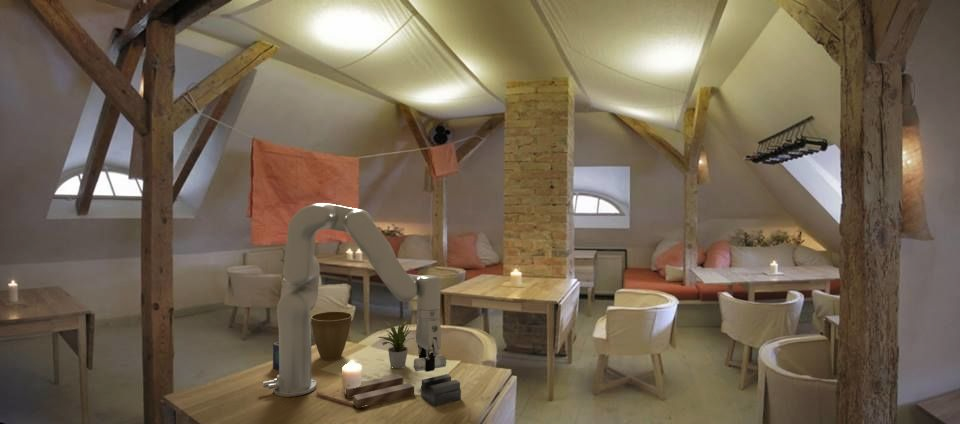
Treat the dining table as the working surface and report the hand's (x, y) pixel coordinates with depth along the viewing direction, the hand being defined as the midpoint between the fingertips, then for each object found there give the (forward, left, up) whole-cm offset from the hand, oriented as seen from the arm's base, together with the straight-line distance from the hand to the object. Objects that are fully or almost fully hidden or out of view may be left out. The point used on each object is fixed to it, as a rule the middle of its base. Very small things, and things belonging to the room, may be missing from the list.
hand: (426, 367), depth 152 cm
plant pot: (-19, +42, -5) cm, 46 cm away
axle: (+1, -1, 0) cm, 2 cm away
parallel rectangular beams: (-16, 0, -5) cm, 17 cm away
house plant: (-1, +21, -5) cm, 21 cm away
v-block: (-1, -12, -5) cm, 13 cm away
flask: (-37, +38, -5) cm, 53 cm away
